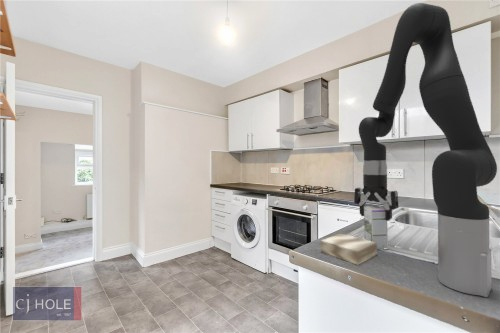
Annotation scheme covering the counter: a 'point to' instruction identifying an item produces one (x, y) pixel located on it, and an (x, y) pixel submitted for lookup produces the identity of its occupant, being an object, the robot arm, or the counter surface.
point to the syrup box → (376, 225)
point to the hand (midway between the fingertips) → (375, 218)
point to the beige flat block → (349, 248)
